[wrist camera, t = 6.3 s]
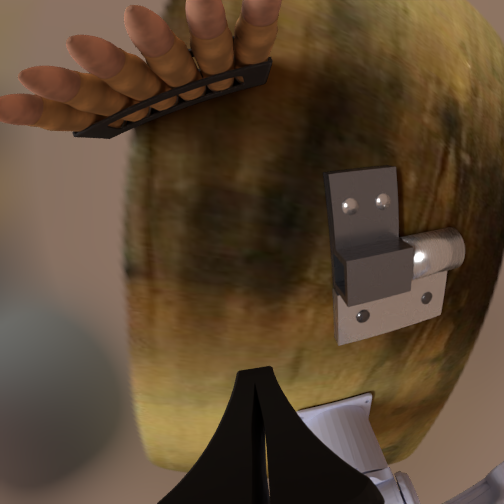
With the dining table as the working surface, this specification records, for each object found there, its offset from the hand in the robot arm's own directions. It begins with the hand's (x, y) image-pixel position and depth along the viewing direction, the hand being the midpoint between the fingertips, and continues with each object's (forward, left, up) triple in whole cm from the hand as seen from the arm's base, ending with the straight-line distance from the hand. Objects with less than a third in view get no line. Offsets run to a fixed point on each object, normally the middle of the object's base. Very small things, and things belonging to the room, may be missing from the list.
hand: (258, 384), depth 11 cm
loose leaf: (+2, -8, -10) cm, 13 cm away
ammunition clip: (+13, +2, -10) cm, 17 cm away
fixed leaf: (-2, -11, -10) cm, 15 cm away
